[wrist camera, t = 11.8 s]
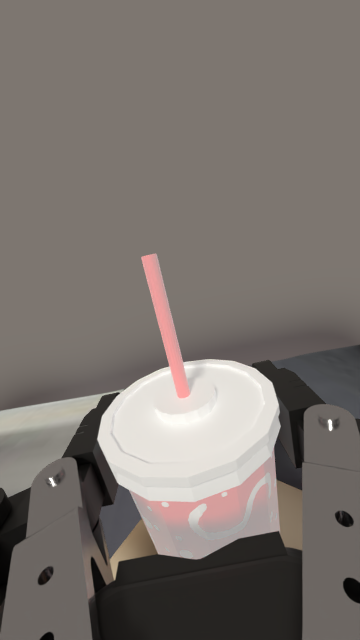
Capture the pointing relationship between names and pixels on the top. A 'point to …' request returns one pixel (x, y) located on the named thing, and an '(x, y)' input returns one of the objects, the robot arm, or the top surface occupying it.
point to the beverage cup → (195, 446)
